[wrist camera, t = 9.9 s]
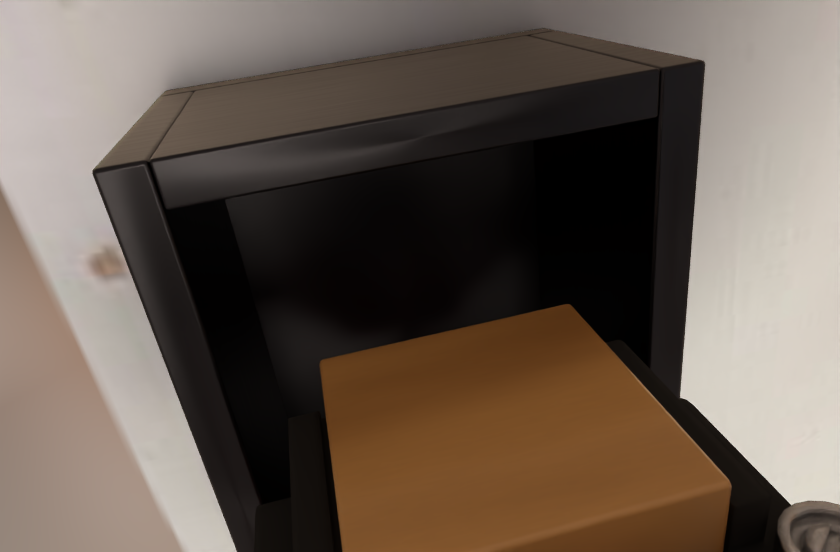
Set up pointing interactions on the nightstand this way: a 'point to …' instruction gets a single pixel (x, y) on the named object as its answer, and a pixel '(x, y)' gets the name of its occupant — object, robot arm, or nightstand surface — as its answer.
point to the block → (513, 447)
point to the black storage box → (399, 221)
